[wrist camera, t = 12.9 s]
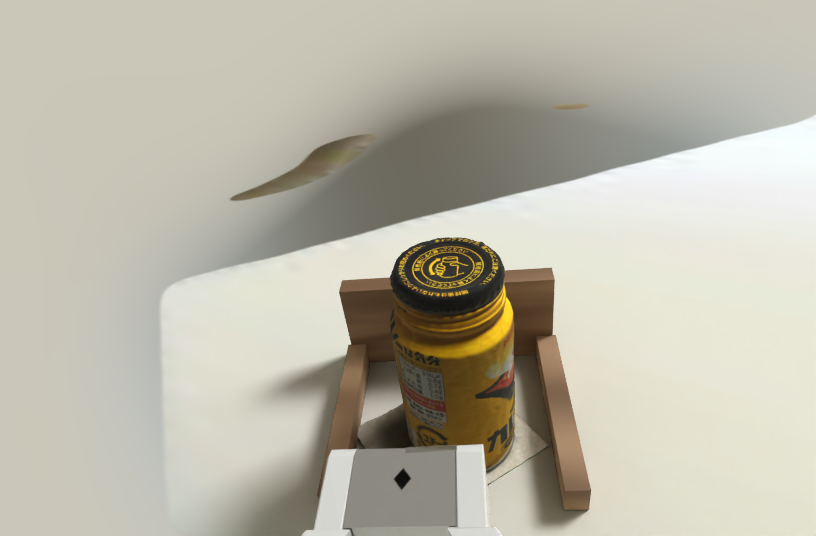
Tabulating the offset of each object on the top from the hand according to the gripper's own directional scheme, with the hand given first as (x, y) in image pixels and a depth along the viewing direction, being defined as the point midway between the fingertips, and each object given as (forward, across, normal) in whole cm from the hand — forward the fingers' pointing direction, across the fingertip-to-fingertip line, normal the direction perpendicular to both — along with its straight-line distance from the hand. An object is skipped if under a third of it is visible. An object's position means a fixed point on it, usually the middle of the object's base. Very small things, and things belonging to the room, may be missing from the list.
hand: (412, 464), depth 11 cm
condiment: (+14, +1, +18) cm, 22 cm away
